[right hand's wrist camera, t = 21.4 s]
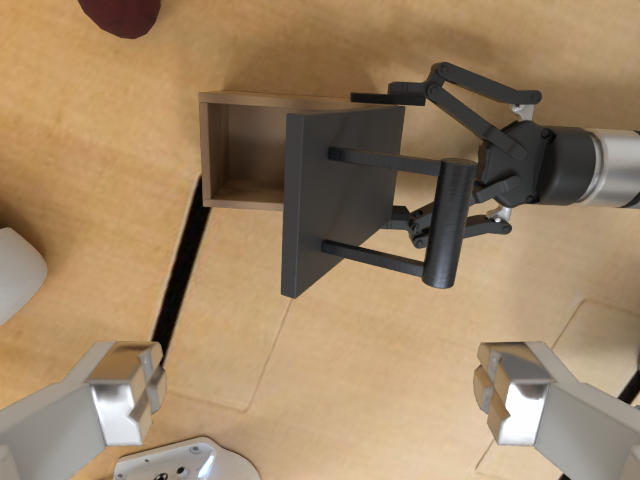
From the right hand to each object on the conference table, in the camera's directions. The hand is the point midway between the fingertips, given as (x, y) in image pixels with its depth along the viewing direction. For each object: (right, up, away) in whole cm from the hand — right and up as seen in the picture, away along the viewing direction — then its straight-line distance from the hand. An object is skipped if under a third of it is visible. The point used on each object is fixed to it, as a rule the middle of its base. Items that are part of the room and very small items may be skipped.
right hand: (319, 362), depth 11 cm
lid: (+2, +7, +19) cm, 21 cm away
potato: (-18, +27, +31) cm, 45 cm away
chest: (-2, +14, +36) cm, 38 cm away
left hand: (+3, +11, +29) cm, 32 cm away
